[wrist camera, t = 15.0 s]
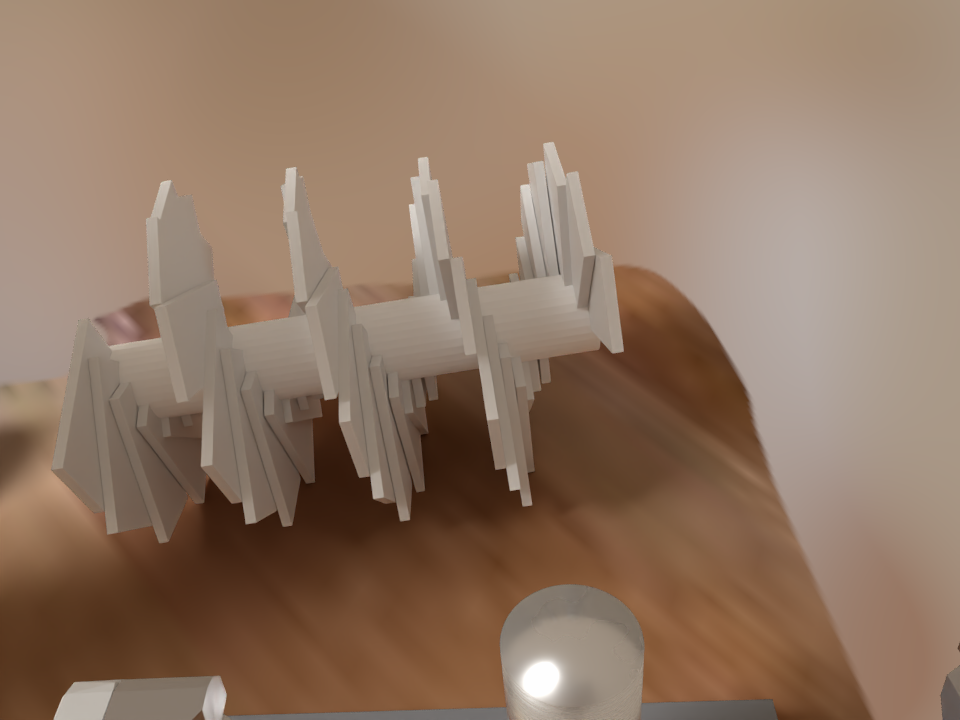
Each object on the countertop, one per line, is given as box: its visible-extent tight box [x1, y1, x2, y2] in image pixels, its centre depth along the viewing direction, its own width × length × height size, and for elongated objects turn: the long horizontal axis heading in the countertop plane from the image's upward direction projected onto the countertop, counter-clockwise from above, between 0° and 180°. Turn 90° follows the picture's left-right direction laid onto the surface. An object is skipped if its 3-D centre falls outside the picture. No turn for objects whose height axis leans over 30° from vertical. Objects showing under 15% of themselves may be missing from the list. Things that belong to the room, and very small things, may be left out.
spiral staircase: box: [51, 142, 624, 543], centre depth 46 cm, size 18×18×25 cm
